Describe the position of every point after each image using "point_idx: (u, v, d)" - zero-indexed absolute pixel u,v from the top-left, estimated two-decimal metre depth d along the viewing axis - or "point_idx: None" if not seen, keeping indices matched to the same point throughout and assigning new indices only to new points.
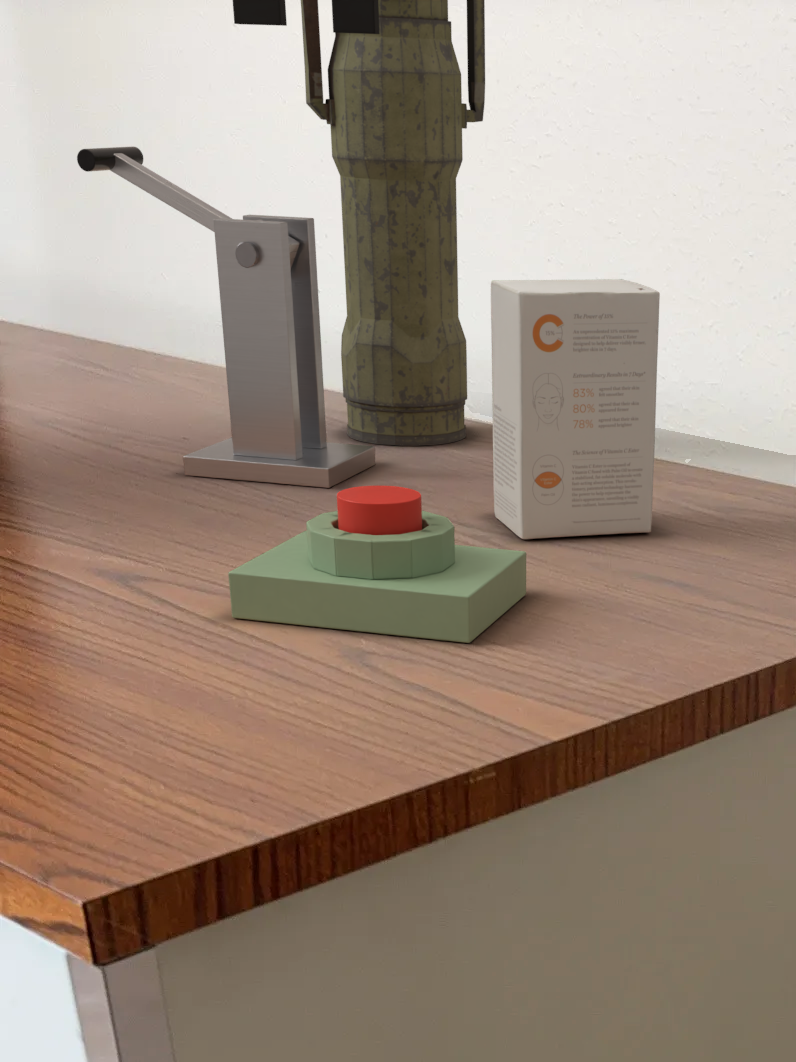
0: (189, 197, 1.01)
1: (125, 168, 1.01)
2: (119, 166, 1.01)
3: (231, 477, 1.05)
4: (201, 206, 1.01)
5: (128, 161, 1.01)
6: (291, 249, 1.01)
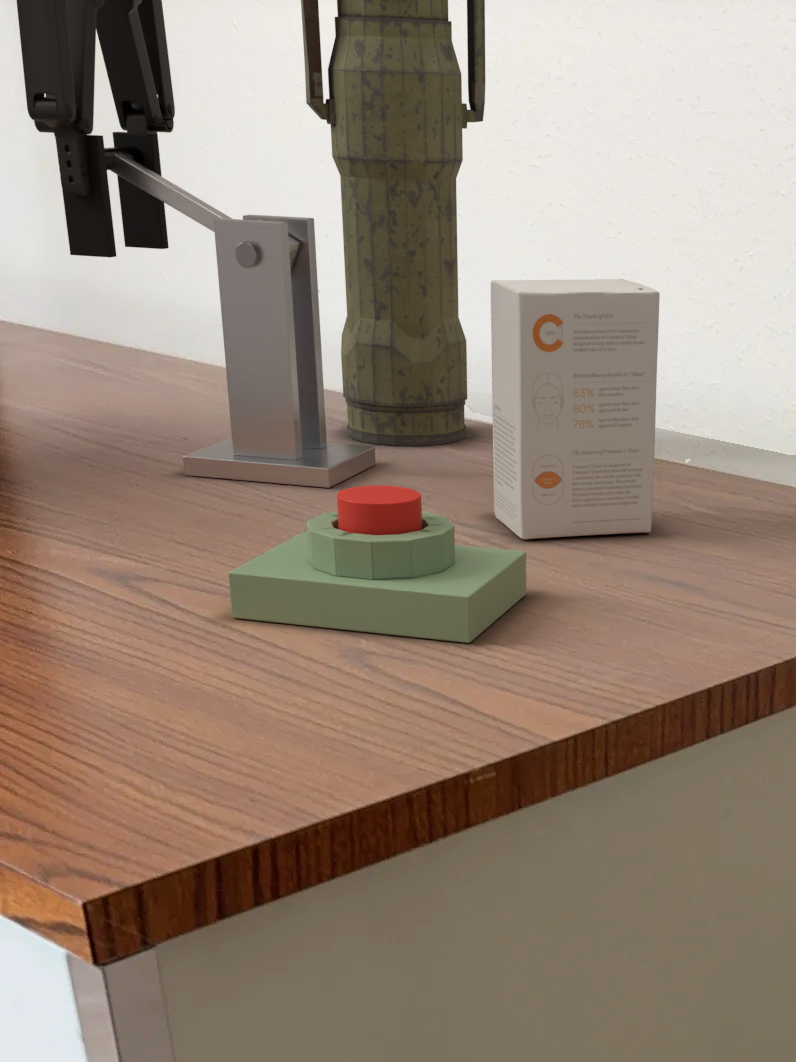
0: (189, 197, 1.01)
1: (125, 168, 1.01)
2: (119, 166, 1.01)
3: (231, 477, 1.05)
4: (201, 206, 1.01)
5: (128, 161, 1.01)
6: (291, 249, 1.01)
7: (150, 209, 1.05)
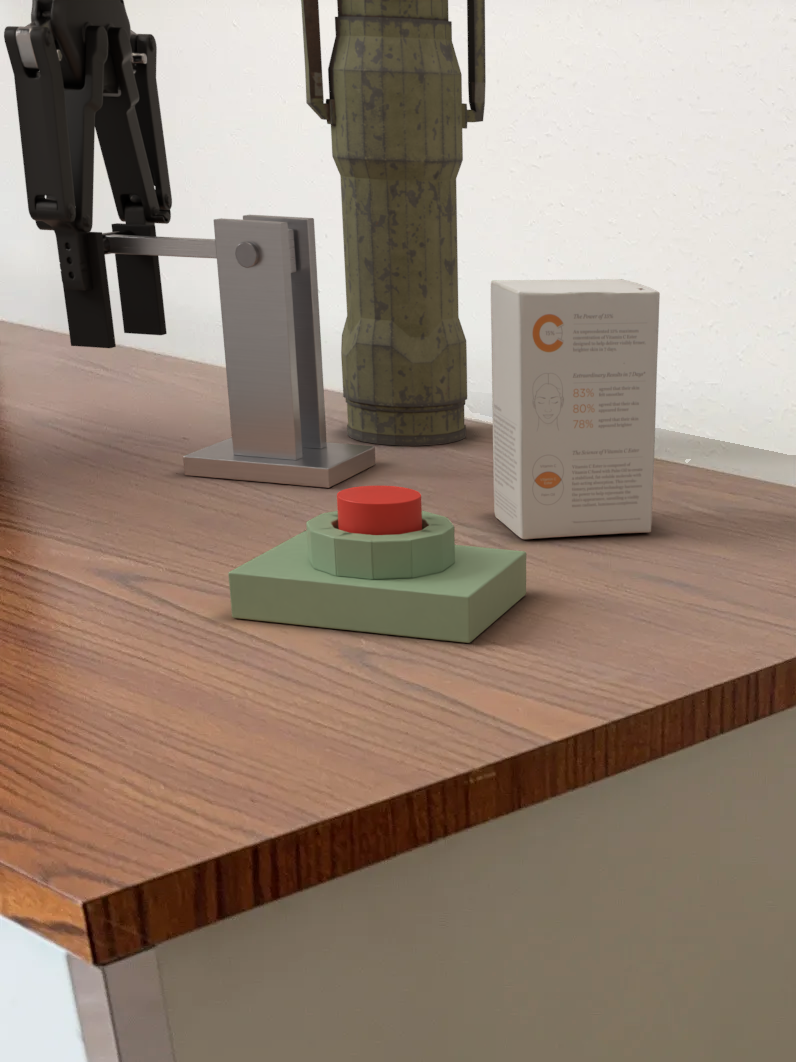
0: (182, 238, 1.02)
1: (119, 243, 1.03)
2: (114, 245, 1.03)
3: (231, 477, 1.05)
4: (195, 240, 1.02)
5: (120, 236, 1.03)
6: None
7: (148, 297, 1.08)
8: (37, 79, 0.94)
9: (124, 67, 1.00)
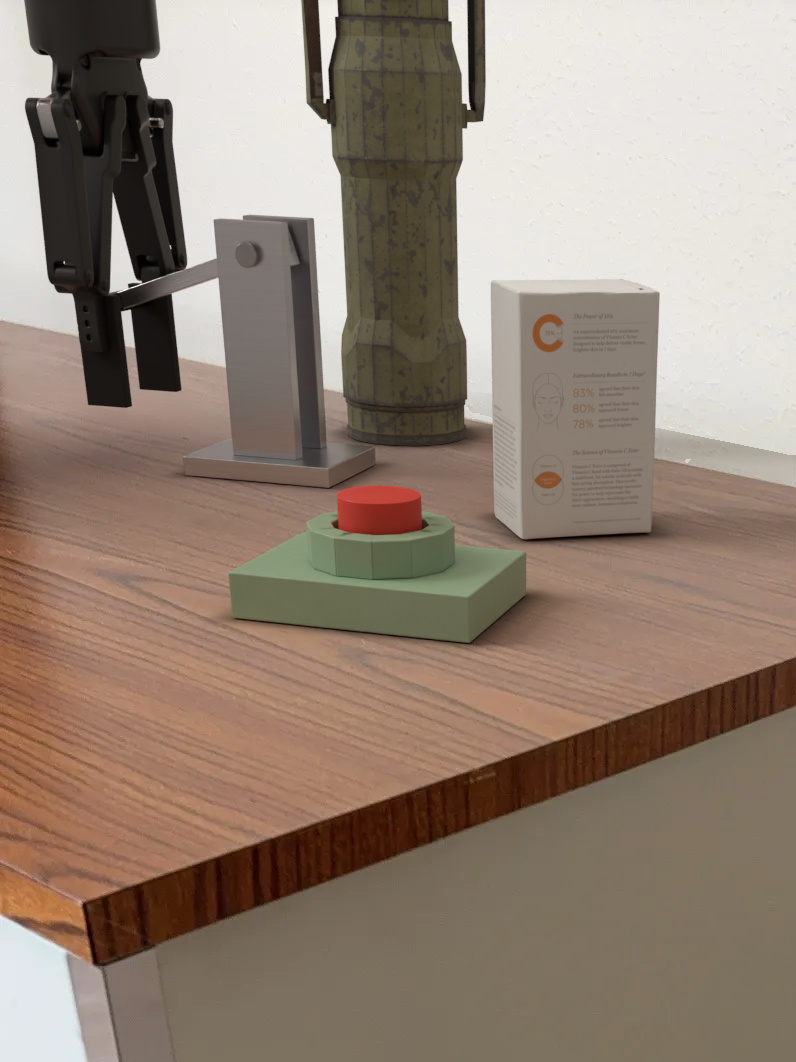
0: (187, 268, 1.03)
1: (132, 294, 1.05)
2: (127, 298, 1.05)
3: (231, 477, 1.05)
4: (198, 264, 1.03)
5: None
6: None
7: (164, 355, 1.10)
8: (57, 148, 0.96)
9: (142, 133, 1.01)
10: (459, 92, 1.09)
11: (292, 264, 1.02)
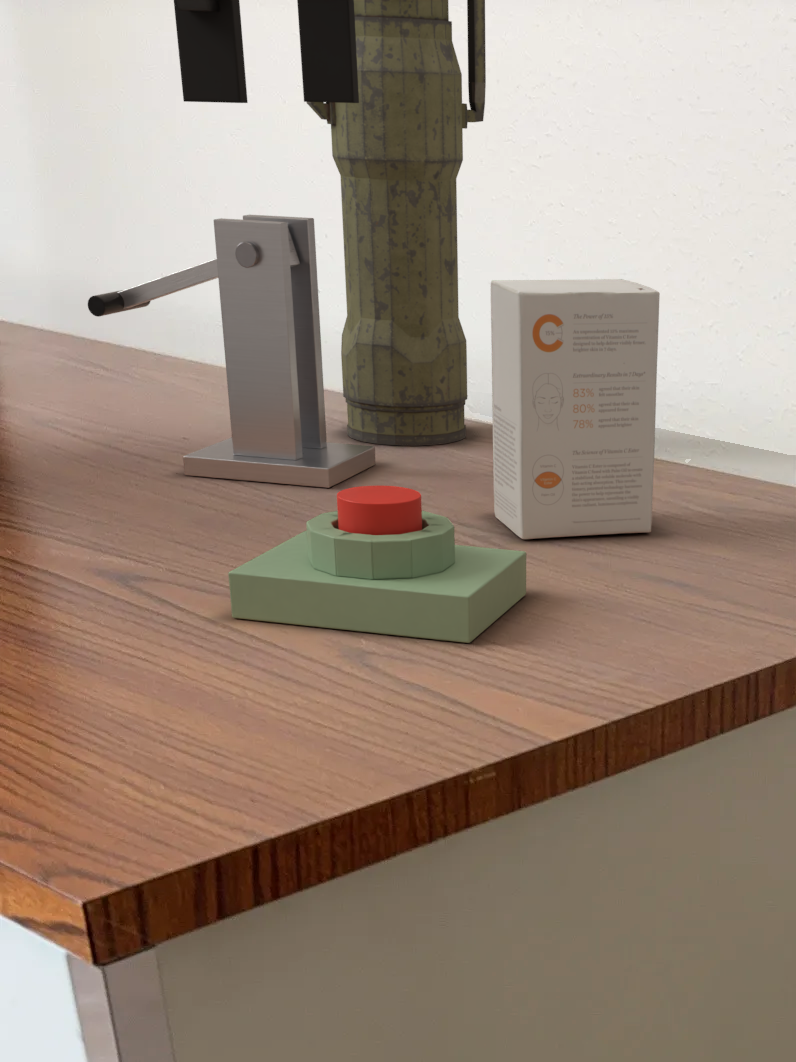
0: (187, 268, 1.03)
1: (132, 294, 1.05)
2: (127, 298, 1.05)
3: (231, 477, 1.05)
4: (198, 264, 1.03)
5: (130, 288, 1.05)
6: None
7: (339, 51, 0.83)
8: None
9: None
10: (459, 92, 1.09)
11: (292, 264, 1.02)
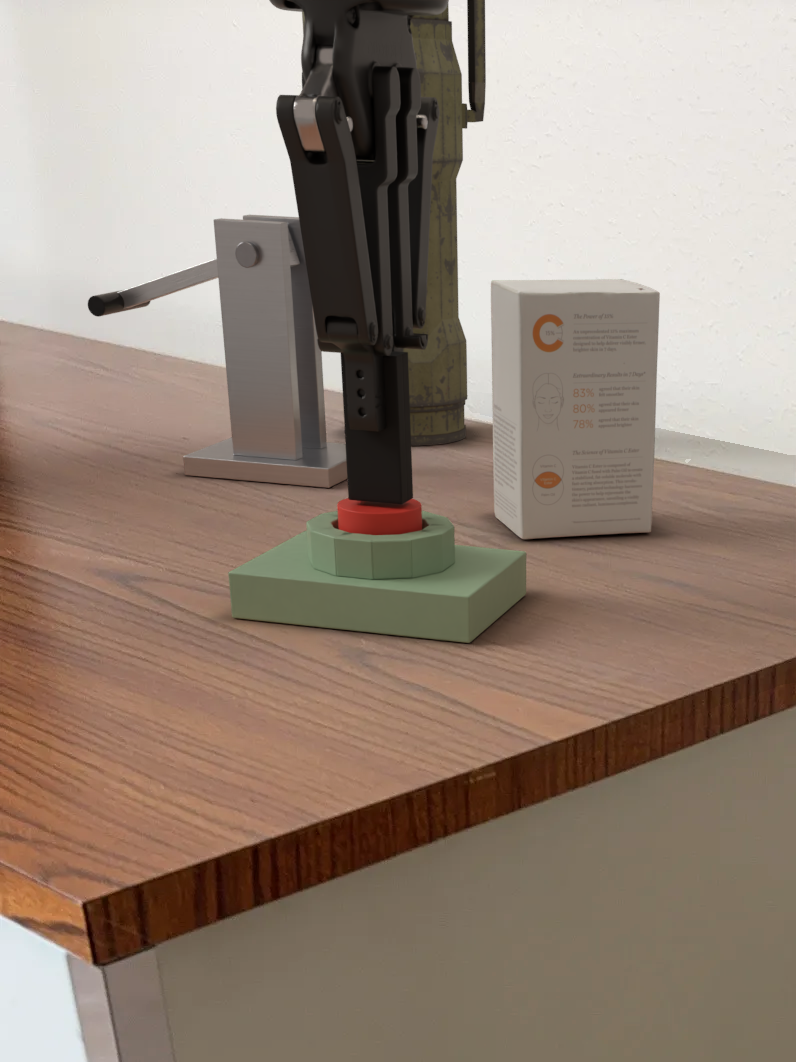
0: (187, 268, 1.03)
1: (132, 294, 1.05)
2: (127, 298, 1.05)
3: (231, 477, 1.05)
4: (198, 264, 1.03)
5: (130, 288, 1.05)
6: None
7: None
8: (324, 166, 0.67)
9: (412, 122, 0.72)
10: (459, 92, 1.09)
11: (292, 264, 1.02)
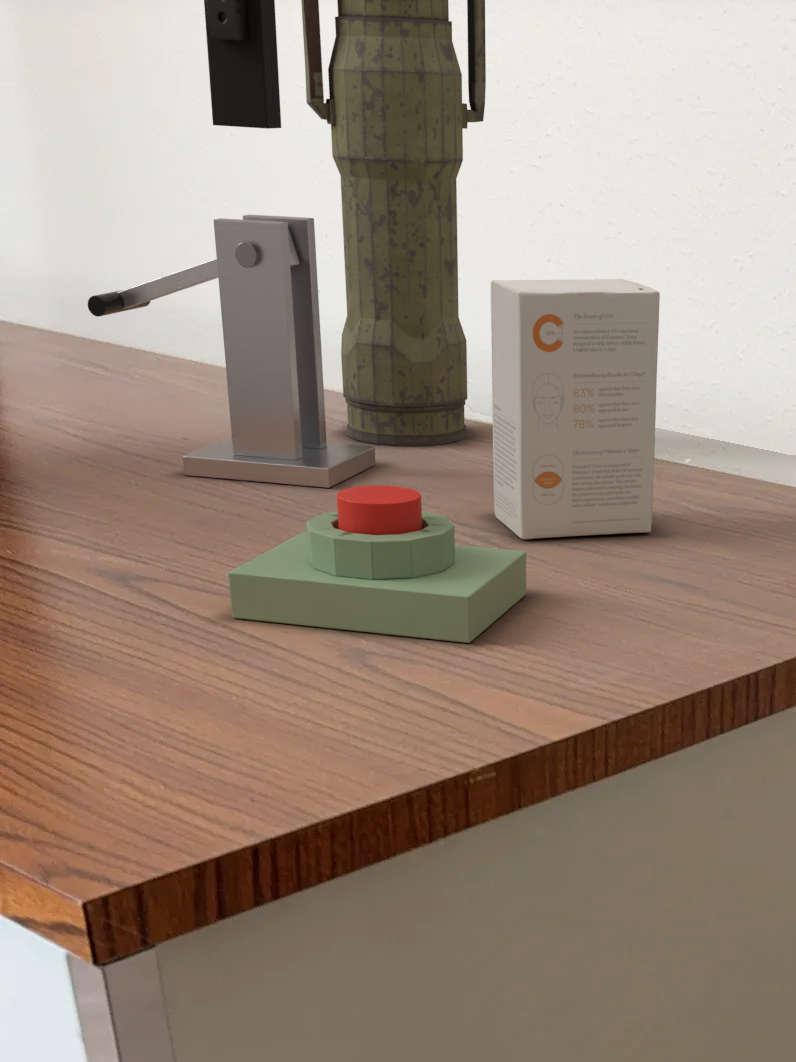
0: (187, 268, 1.03)
1: (132, 294, 1.05)
2: (127, 298, 1.05)
3: (231, 477, 1.05)
4: (198, 264, 1.03)
5: (130, 288, 1.05)
6: None
7: None
8: None
9: None
10: (459, 92, 1.09)
11: (292, 264, 1.02)
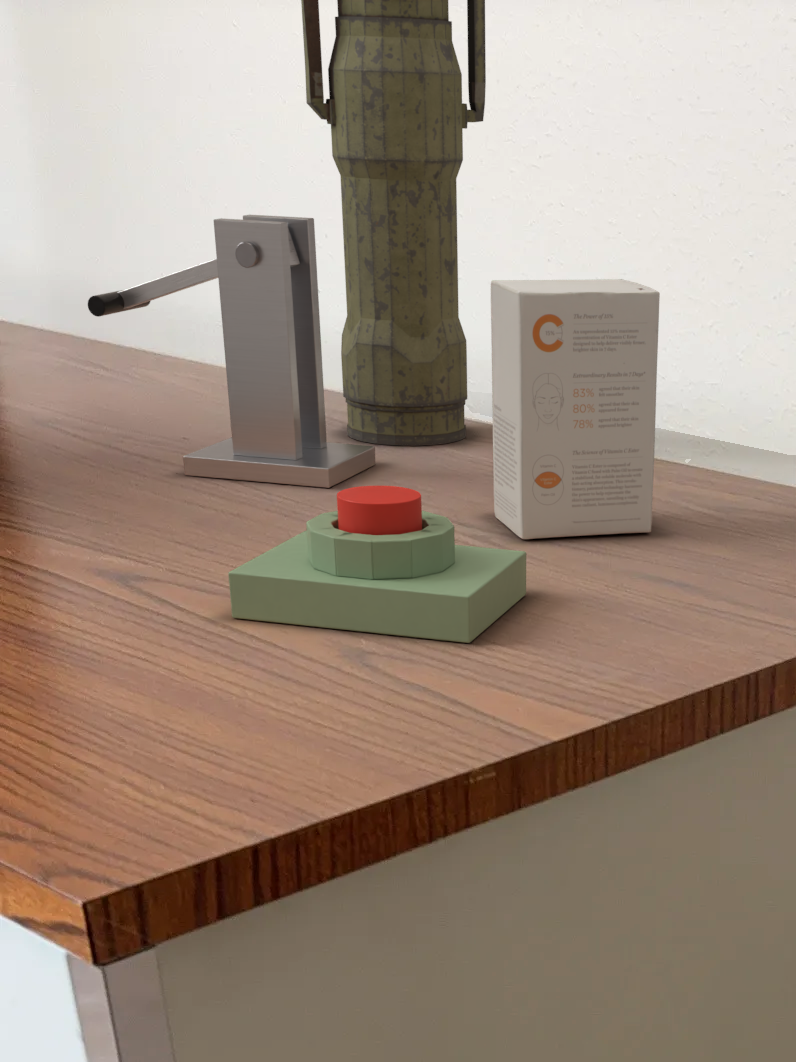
0: (187, 268, 1.03)
1: (132, 294, 1.05)
2: (127, 298, 1.05)
3: (231, 477, 1.05)
4: (198, 264, 1.03)
5: (130, 288, 1.05)
6: None
7: None
8: None
9: None
10: (459, 92, 1.09)
11: (292, 264, 1.02)
